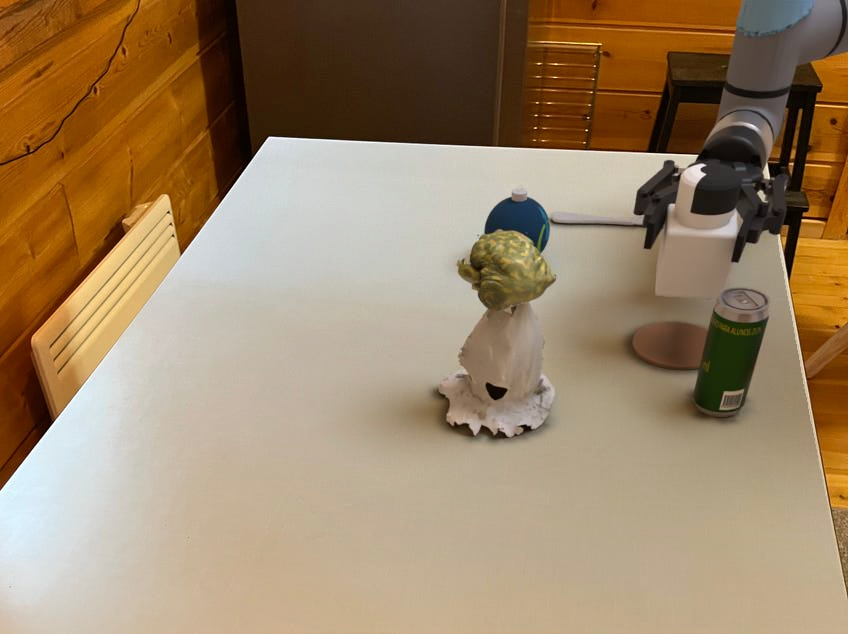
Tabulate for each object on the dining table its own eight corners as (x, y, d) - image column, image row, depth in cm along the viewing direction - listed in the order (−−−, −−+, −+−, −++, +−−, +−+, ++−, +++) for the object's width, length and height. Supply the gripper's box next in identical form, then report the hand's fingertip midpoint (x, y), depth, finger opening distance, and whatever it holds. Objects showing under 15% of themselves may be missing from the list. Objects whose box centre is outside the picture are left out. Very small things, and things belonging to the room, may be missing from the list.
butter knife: (552, 210, 136) (550, 219, 134) (729, 221, 131) (729, 230, 129) (552, 213, 136) (550, 222, 134) (728, 224, 132) (728, 233, 130)
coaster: (704, 321, 115) (704, 318, 114) (734, 365, 108) (734, 362, 108) (621, 328, 114) (622, 325, 114) (646, 373, 108) (647, 370, 107)
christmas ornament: (516, 284, 123) (522, 205, 116) (469, 263, 127) (472, 186, 120) (560, 262, 126) (568, 184, 119) (513, 242, 131) (518, 166, 124)
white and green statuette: (539, 367, 109) (554, 204, 96) (565, 431, 101) (586, 261, 87) (435, 376, 109) (437, 213, 96) (453, 442, 100) (457, 272, 87)
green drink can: (753, 411, 102) (784, 305, 93) (710, 423, 101) (737, 317, 92) (724, 386, 105) (751, 281, 96) (681, 397, 104) (704, 293, 95)
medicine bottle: (721, 270, 107) (748, 158, 98) (723, 301, 102) (751, 186, 94) (656, 266, 108) (677, 154, 100) (654, 296, 104) (676, 182, 95)
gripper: (818, 203, 111) (790, 294, 97) (637, 180, 118) (587, 262, 104) (838, 134, 106) (812, 220, 92) (648, 114, 112) (596, 191, 98)
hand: (692, 242), depth 98 cm, fingers closed on medicine bottle, 8 cm apart
